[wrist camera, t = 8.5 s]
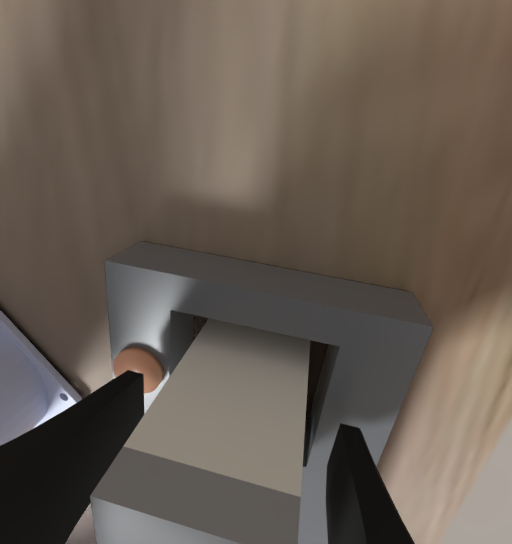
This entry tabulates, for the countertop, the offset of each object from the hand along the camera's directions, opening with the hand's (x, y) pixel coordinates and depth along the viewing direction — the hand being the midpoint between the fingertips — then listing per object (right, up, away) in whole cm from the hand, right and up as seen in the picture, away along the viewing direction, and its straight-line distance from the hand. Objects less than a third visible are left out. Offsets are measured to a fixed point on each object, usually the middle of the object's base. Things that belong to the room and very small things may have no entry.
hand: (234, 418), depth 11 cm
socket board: (0, -2, +5) cm, 5 cm away
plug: (+1, +1, +4) cm, 4 cm away
